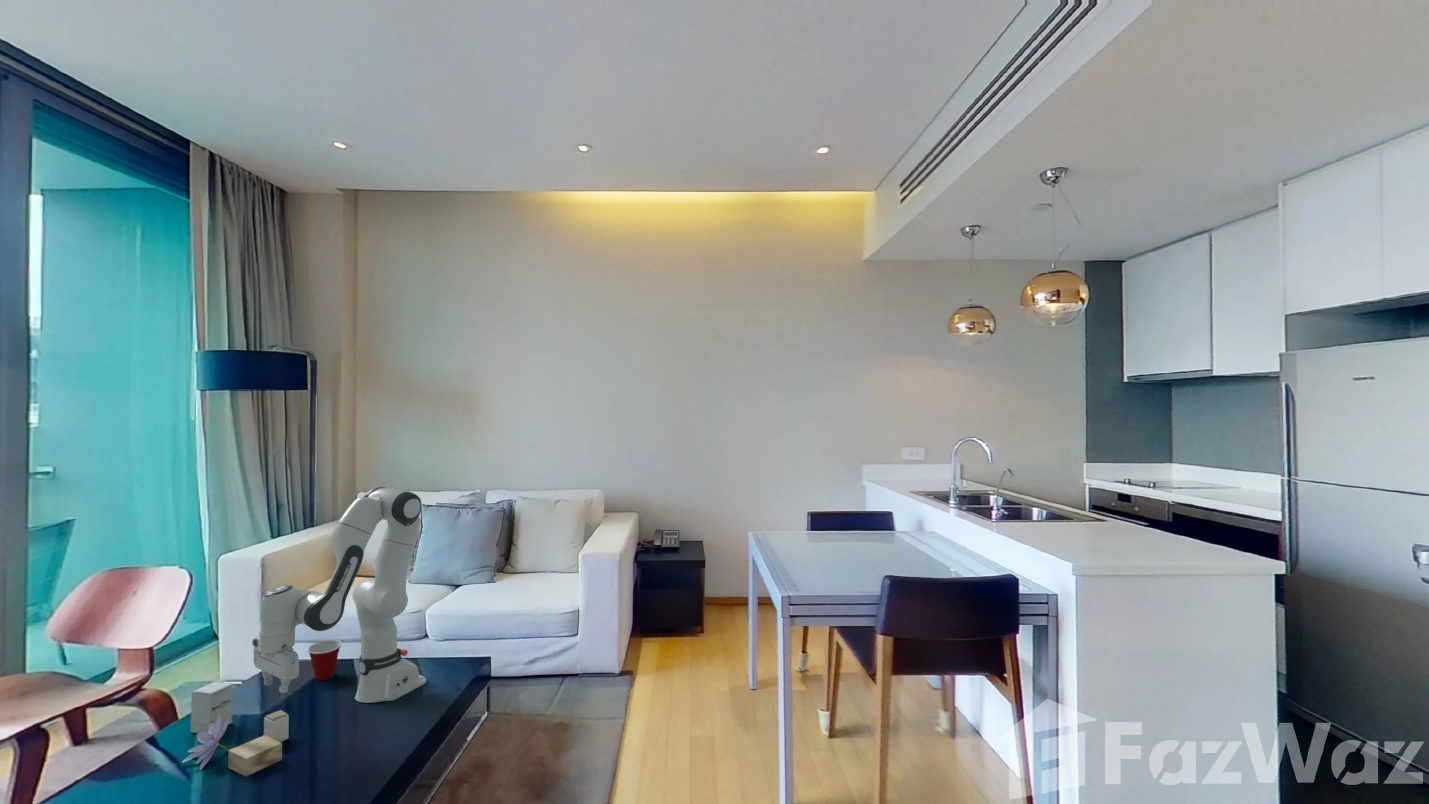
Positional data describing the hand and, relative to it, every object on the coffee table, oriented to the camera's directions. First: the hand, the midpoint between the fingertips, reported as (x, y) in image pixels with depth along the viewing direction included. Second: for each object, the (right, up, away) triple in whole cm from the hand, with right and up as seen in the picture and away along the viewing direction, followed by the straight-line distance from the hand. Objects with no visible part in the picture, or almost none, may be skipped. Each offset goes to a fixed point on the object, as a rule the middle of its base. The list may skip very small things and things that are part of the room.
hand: (275, 688), depth 183 cm
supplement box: (-25, -16, +7) cm, 30 cm away
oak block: (+3, -16, -12) cm, 20 cm away
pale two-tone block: (0, -16, 0) cm, 16 cm away
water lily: (-13, -16, -10) cm, 22 cm away
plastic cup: (-13, -16, +43) cm, 47 cm away
